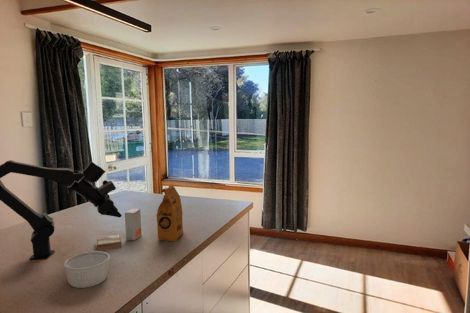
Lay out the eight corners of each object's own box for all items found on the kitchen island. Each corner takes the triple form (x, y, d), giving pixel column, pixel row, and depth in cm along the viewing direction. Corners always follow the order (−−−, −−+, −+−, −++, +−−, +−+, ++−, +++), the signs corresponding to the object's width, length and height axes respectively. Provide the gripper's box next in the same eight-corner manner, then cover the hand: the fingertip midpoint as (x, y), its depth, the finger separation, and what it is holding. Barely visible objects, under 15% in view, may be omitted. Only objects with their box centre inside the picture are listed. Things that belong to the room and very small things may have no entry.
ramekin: (108, 266, 114) (106, 247, 113) (114, 283, 102) (112, 262, 101) (65, 276, 107) (63, 256, 106) (66, 295, 96) (64, 272, 95)
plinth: (121, 247, 130) (121, 241, 129) (97, 251, 126) (96, 245, 126) (120, 239, 138) (120, 234, 138) (97, 243, 135) (97, 237, 134)
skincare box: (135, 240, 137) (133, 212, 135) (126, 240, 137) (124, 212, 136) (142, 235, 143) (140, 208, 141) (133, 234, 143) (131, 208, 142)
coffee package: (153, 241, 135) (150, 189, 133) (165, 230, 148) (162, 183, 145) (176, 242, 134) (174, 189, 131) (186, 231, 146) (184, 183, 143)
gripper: (105, 179, 123) (136, 203, 130) (99, 172, 139) (128, 193, 146) (84, 202, 120) (117, 226, 127) (81, 192, 137) (110, 213, 143)
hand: (119, 213), depth 136 cm, fingers open, 9 cm apart
